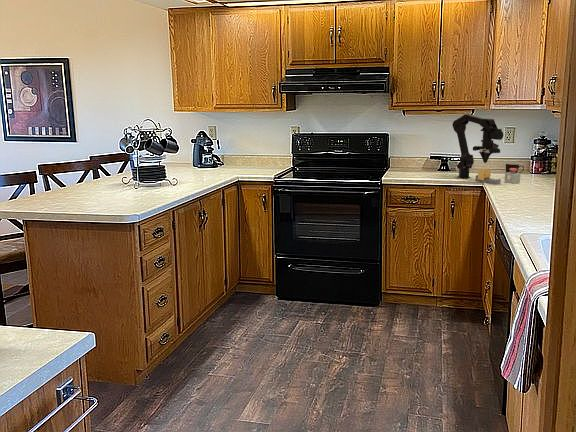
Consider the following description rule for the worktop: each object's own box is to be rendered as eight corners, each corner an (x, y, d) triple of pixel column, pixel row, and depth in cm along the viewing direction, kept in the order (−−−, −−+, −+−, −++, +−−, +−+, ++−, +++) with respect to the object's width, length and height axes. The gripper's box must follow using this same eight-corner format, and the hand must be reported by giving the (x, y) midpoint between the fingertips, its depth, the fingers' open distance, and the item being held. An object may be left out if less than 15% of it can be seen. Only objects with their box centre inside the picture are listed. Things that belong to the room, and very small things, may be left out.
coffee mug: (503, 178, 396) (504, 163, 394) (505, 177, 404) (506, 162, 401) (521, 180, 391) (523, 165, 389) (523, 178, 398) (524, 163, 396)
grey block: (504, 182, 382) (504, 172, 381) (511, 181, 385) (512, 172, 384) (512, 183, 376) (513, 174, 375) (519, 183, 379) (520, 173, 378)
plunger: (507, 177, 381) (508, 168, 380) (512, 177, 383) (513, 168, 382) (512, 178, 377) (513, 169, 376) (517, 178, 379) (518, 168, 378)
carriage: (477, 179, 385) (478, 169, 383) (484, 178, 387) (485, 168, 386) (483, 180, 380) (484, 170, 379) (489, 179, 383) (490, 169, 381)
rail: (475, 180, 388) (475, 175, 388) (478, 179, 390) (479, 175, 389) (496, 184, 372) (497, 179, 371) (500, 184, 373) (500, 179, 372)
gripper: (507, 139, 373) (505, 164, 377) (485, 137, 389) (484, 160, 393) (494, 140, 368) (492, 165, 372) (473, 137, 385) (471, 161, 388)
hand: (485, 162), depth 381 cm, fingers closed
